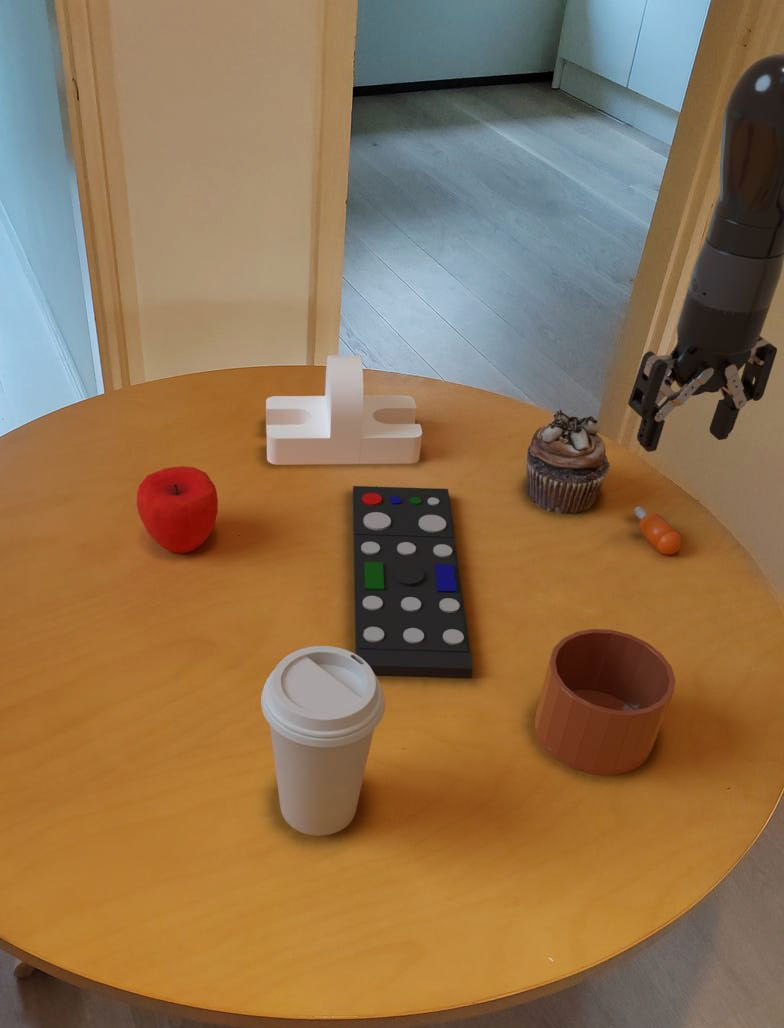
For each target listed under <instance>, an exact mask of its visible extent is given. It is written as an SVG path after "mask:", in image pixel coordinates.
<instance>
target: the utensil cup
mask: <svg viewBox="0 0 784 1028" xmlns="http://www.w3.org/2000/svg"><path fill="white" fill-rule="evenodd" d="M675 686H676V678H675V674H674V671H673V668H672V665H671V664H670V663H669V661H668V660H667V659H666V657H665V656H664V655H663V654H662V653H661V651H659V650H658V649H657V648H655V647H654V646H652V645H651V644H650V642H647V641H645V640H642V639H641V638H638V637H637V636H635V635H632V634H630V633H626V632H621V631H617V630H615V629H605V628H603V629H602V628H590V629H584V630H579V631H575V632H573V633H570V634H569V635H566V636H564V637H563V638H561V640H559V641H558V642H557V643H556V645H555V646H554V647H553V648H552V651H551V655H550V658H549V661H548V665H547V669H546V672H545V677H544V681H543V685H542V689H541V693H540V697H539V701H538V703H537V704H538V705H537V708H536V712H535V718H534V730H535V733H536V736H537V738H538V740H539V742H540V744H541V746H542V747H543V749H545V750H546V751H547V752H548V754H549V755H551V756H552V758H554V759H556V760H557V761H558V762H560V763H561V764H563V765H565V766H567V767H568V768H570V769H573V770H576V771H578V772H580V773H583V774H584V773H585V774H588V775H594V776H603V777H605V776H607V777H608V776H609V777H610V776H619V775H623V774H627V773H629V772H632V771H634V770H636V769H637V768H639V767H640V766H642V765H643V764H644V763H645V761H647V759H648V758H649V756H650V754H651V752H652V750H653V748H654V745H655V742H656V740H657V737H658V735H659V732H660V729H661V726H662V725H663V721H664V719H665V716H666V714H667V712H668V708H669V705H670V703H671V700H672V698H673V695H674V691H675Z"/></svg>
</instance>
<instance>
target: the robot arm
mask: <svg viewBox="0 0 784 1028" xmlns="http://www.w3.org/2000/svg"><path fill="white" fill-rule="evenodd" d="M720 143H721V145H720V160H719V161H720V162H719V193H718V195H717V199H716V202H715V205H714V209H713V211H712V215H711V219H710V222H709V225H708V230H707V233H706V236H705V239H704V242H703V243H702V247H701V249H700V251H699V252H698V256H697V258H696V261H695V264H694V267H693V271H692V273H691V277H690V281H689V284H688V288H687V291H686V295H685V298H684V301H683V304H682V309H681V312H680V315H679V318H678V322H677V325H676V337H677V341H676V344H675V346H674V348H673V349H672V351H671V352H670V353H669V354H666V355H657V354H656V353H654V352H653V351H652V350H651V351H650V350H649V351H647V352H645V353H644V355H643V356H642V359H641V362H640V365H639V368H638V371H637V374H636V377H635V379H634V383H633V387H632V390H631V392H630V395H629V399H628V401H627V405H628V406H629V407H630V408H631V409H632V410H633V411H634V412H635V413H637V415H638V416H640V418H641V420H640V424H639V428H638V432H637V435H636V441H637V442H638V443H639V445H640V446H641V447H642V448H643V450H644V451H646V452H647V453H649V452H650V453H651V452H655V451H656V450H657V449H658V445H659V442H660V439H661V436H662V432H663V429H664V425H665V422H666V420H665V419H666V417H667V416H668V415H669V414H670V413H671V412H672V411H673V410H674V409H675V408H676V407H681V406H682V405H684V404H685V403H686V401H687V400H688V399H690V397H693V396H699V395H702V394H704V393H719V392H720V393H721V396H722V397H723V399H719V400H718V401H717V405H716V408H715V411H714V414H713V416H712V419H711V422H710V426H709V433H710V434H711V435H712V436H713V437H714V438H716V439H717V440H718V441H722V440H727V439H728V437H729V434H731V432H732V431H733V430H734V427H735V424H736V423H737V419H738V416H739V414H740V410H741V409H742V408H744V407H745V406H746V405H747V402H749V401H751V400H753V401H754V402H757V401H760V400H761V399H762V398H763V396H764V395H765V391H766V389H767V384H768V381H769V379H770V375H771V372H772V369H773V365H774V363H775V359H776V356H777V353H778V348H777V347H776V346H775V345H773V343H771V342H769V341H768V340H767V339H766V338H764V337H762V336H761V334H762V331H763V328H764V325H765V322H766V319H767V315H768V313H769V312H770V308H771V305H772V302H773V299H774V296H775V293H776V290H777V288H778V285H779V282H780V279H781V275H782V272H783V267H784V52H780V53H775V54H771V55H767V56H764V57H762V58H760V59H758V60H756V61H755V62H753V63H752V64H751V65H750V66H748V67H747V69H745V70H744V71H743V73H742V74H741V75H740V77H739V79H738V80H737V81H736V83H735V85H734V87H733V89H732V91H731V92H730V95H729V98H728V100H727V103H726V105H725V109H724V115H723V121H722V129H721V142H720ZM743 367H744V368H743ZM741 368H743V371H742V374H741V377H740V375H739V371H740V370H741ZM674 383H676V385H677V386H678V387H679V388H680V389H678V390H677V391H674V390H673V389H672V385H673V384H674ZM664 398H666V399H665V400H664V401H663V399H664ZM661 401H663V402H662V403H661V404H660V402H661ZM659 404H660V405H659Z"/></svg>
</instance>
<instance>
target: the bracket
mask: <svg viewBox="0 0 784 1028" xmlns="http://www.w3.org/2000/svg"><path fill="white" fill-rule="evenodd" d="M362 361H363V360H362V357H361V356H360V355H359V354H357V355H355V354H354V355H351V354H350V355H349V354H348V355H345V354H343V355H342V354H341V355H337V354H336V355H335V354H333V355H327V358H326V367H325V386H324V387H325V390H324V395H273V396H269V397H267V398H266V400H265V432H266V433H265V434H266V460H267V462H268V463H270V464H272V465H283V466H284V465H387V464H388V465H391V464H393V465H394V464H395V465H397V464H398V465H399V464H405V465H407V464H409V465H410V464H416V463H418V462H419V461H420V457H421V449H422V447H421V446H422V439H423V429H422V425H421V423H416V417H417V405H416V401H415V399H414V398H413V397H412V396H409V395H364V373H363V372H364V371H363V362H362Z"/></svg>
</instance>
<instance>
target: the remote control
mask: <svg viewBox="0 0 784 1028" xmlns="http://www.w3.org/2000/svg"><path fill="white" fill-rule="evenodd" d="M454 530H455V529H454V522H453V516H452V508H451V500H450V493H449V488H437V487H436V488H433V487H432V488H431V487H399V486H369V485H368V486H365V485H353V486H352V537H353V539H352V540H353V543H352V545H353V593H354V600H353V601H354V602H353V603H354V647H355V648H354V650H355V652H354V654H356V655H358V656H359V657H361V658H362V659H363V660H364V661H365V662H366V663H367V664H368V665H369V666H370V667H371V669H372V671H373V673H374V674H375V675H376V677H399V678H400V677H402V678H403V677H405V678H438V679H467V680H468V679H470V680H471V679H472V676H473V670H474V666H473V659H472V653H471V645H470V638H469V631H468V623H467V617H466V616H467V615H466V610H465V609H466V608H465V601H464V594H463V588H462V587H463V586H462V579H461V573H460V566H459V565H460V564H459V559H458V558H459V557H458V551H457V544H456V538H455V537H456V536H455V531H454Z"/></svg>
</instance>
